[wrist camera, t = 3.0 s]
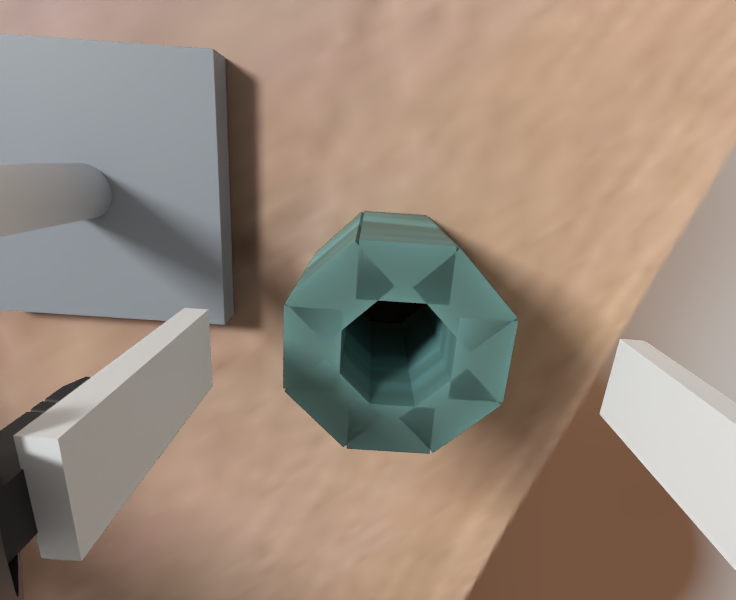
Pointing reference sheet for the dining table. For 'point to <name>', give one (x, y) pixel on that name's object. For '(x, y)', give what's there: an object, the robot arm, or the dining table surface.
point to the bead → (396, 337)
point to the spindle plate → (114, 179)
